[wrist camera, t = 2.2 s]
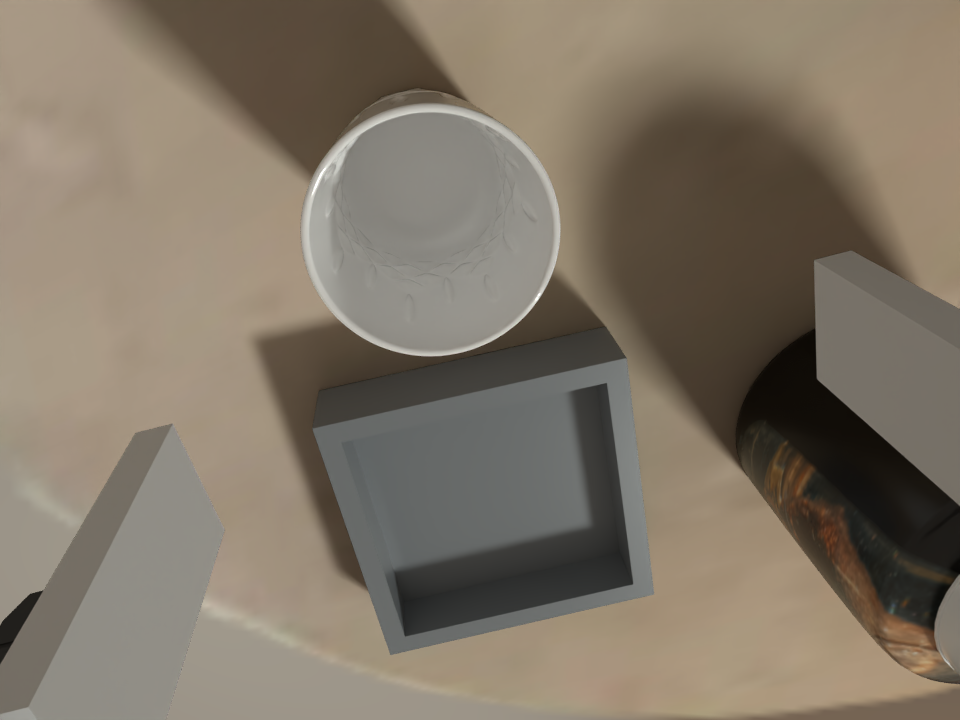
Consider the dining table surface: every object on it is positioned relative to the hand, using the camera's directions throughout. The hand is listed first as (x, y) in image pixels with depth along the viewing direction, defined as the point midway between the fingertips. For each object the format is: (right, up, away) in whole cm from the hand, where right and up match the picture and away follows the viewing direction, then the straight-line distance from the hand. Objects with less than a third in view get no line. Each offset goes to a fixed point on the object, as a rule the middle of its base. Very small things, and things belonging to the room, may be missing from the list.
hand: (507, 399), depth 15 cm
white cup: (-3, +9, +17) cm, 19 cm away
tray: (0, -5, +24) cm, 24 cm away
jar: (+19, -2, +25) cm, 31 cm away
